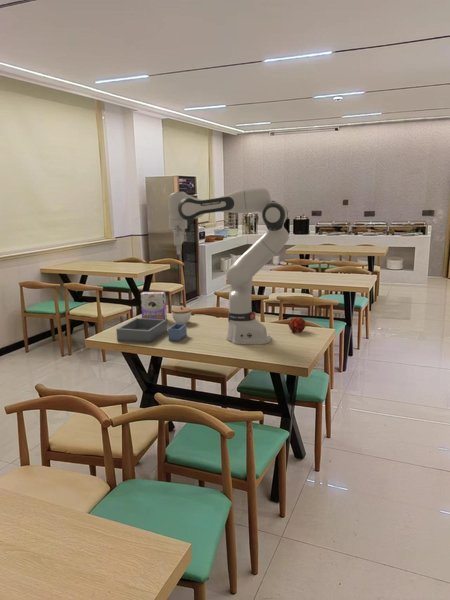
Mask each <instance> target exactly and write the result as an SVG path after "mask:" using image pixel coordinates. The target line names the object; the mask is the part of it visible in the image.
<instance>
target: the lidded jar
mask: <svg viewBox="0 0 450 600" xmlns="http://www.w3.org/2000/svg"><path fill="white" fill-rule="evenodd" d="M171 312H172V314H171V316H172V319H173V321H174V322H175V323H176V324H186V325H187V324H188V322H189V321H190V320H191V316H192V309H191V308H190V307H185V306H180V307H174V308H172V309H171Z"/></svg>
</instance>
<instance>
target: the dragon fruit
mask: <svg viewBox="0 0 450 600" xmlns="http://www.w3.org/2000/svg"><path fill="white" fill-rule="evenodd" d="M305 324H306V320H305V319H303V318H302V317H298V316H295V317H293V318H290V320H289V322H288V327H289V329H290V330H291V333H293V334H296V333H302V332H303V331H304V330H305V328H306V327H307V326H306V325H305Z"/></svg>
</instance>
